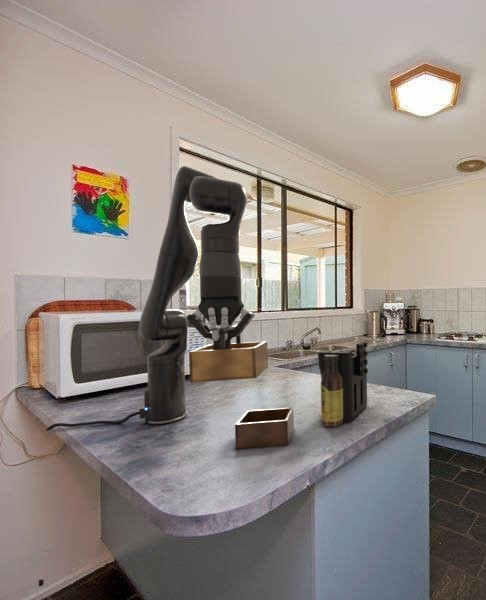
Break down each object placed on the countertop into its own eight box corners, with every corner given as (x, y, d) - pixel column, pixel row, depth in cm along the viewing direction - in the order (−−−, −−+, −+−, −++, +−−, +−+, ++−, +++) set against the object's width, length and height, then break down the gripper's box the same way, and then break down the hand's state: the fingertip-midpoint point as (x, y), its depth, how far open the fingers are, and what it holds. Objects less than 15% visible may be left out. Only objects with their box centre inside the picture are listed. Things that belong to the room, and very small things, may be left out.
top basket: (190, 382, 63) (187, 330, 62) (211, 371, 72) (209, 325, 72) (256, 378, 65) (254, 327, 64) (268, 367, 74) (266, 323, 74)
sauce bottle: (323, 420, 96) (322, 352, 96) (344, 419, 97) (343, 352, 97) (319, 428, 90) (318, 356, 90) (342, 427, 90) (341, 356, 90)
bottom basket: (235, 449, 78) (235, 424, 78) (247, 432, 88) (247, 410, 88) (287, 444, 80) (287, 420, 80) (293, 429, 90) (293, 407, 90)
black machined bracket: (317, 422, 94) (316, 346, 94) (345, 400, 114) (344, 338, 114) (355, 425, 92) (354, 347, 92) (377, 402, 112) (376, 338, 112)
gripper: (259, 276, 73) (260, 353, 73) (194, 276, 71) (195, 356, 71) (249, 274, 66) (251, 359, 66) (177, 274, 64) (178, 363, 64)
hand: (222, 358), depth 68 cm, fingers closed
